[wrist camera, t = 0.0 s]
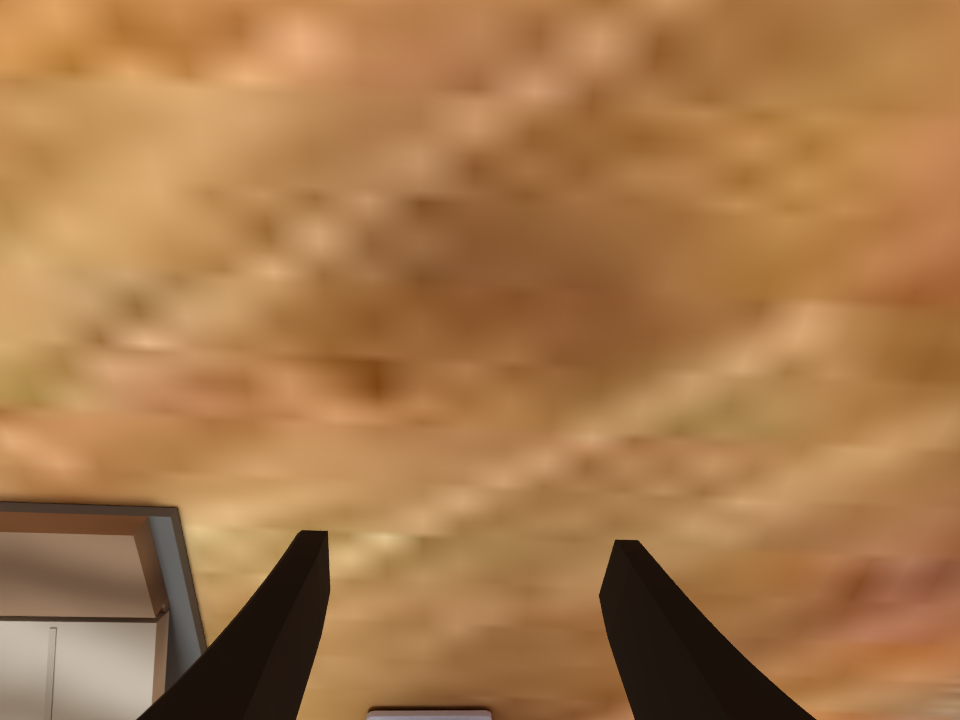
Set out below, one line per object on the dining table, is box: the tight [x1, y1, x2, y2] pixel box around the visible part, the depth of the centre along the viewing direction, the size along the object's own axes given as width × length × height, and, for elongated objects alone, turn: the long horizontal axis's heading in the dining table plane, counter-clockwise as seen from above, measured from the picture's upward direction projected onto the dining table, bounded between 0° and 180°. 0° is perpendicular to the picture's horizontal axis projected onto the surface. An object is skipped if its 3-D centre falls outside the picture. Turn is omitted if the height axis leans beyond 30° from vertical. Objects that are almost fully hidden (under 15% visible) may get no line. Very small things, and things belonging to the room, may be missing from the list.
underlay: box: [0, 502, 207, 693], centre depth 27 cm, size 22×16×1 cm
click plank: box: [0, 610, 169, 720], centre depth 24 cm, size 10×14×1 cm
